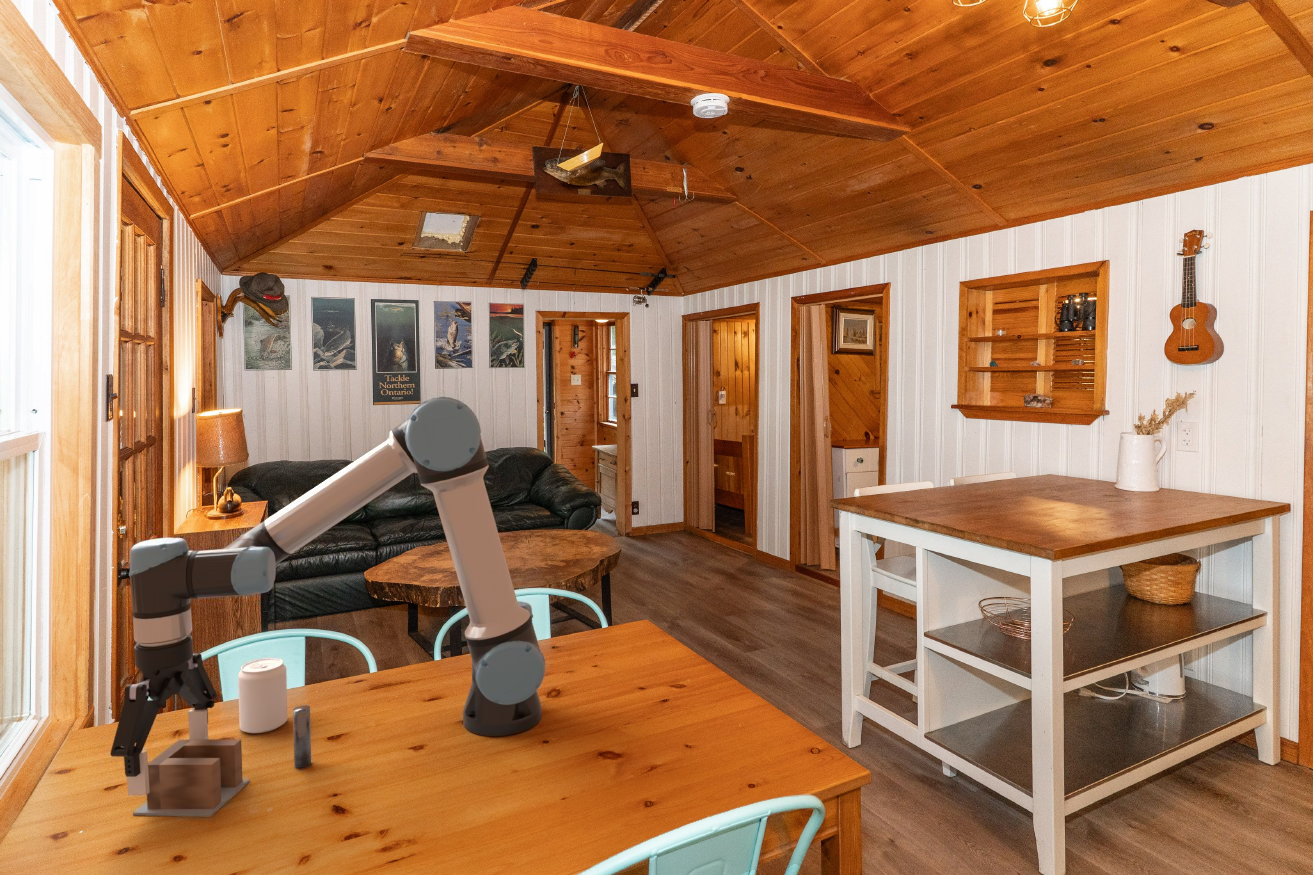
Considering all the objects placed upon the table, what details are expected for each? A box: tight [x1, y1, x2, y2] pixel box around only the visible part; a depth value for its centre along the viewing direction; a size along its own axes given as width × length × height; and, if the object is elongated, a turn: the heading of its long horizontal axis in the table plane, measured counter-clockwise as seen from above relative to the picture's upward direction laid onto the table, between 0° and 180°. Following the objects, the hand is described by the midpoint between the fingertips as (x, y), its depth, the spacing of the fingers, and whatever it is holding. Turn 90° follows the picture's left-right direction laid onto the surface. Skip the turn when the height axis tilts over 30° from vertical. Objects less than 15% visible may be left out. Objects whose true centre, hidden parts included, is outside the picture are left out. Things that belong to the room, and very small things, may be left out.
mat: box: [132, 778, 251, 818], centre depth 114 cm, size 12×10×1 cm
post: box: [292, 704, 312, 770], centre depth 124 cm, size 3×3×10 cm
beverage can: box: [237, 657, 289, 734], centre depth 138 cm, size 8×8×12 cm
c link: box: [146, 738, 244, 809], centre depth 114 cm, size 10×8×7 cm
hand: (171, 769), depth 114 cm, fingers open, 13 cm apart
